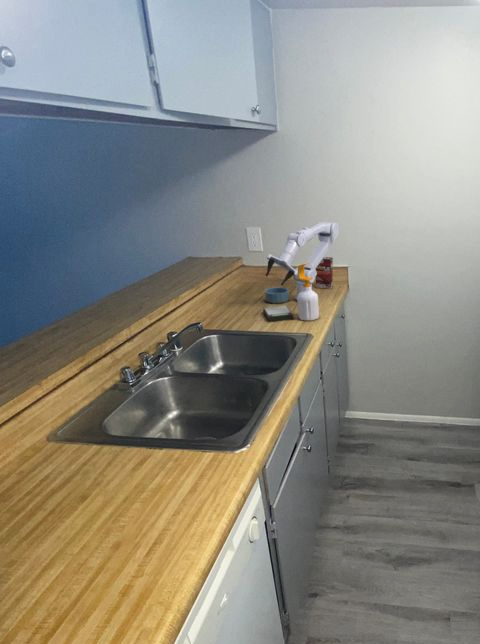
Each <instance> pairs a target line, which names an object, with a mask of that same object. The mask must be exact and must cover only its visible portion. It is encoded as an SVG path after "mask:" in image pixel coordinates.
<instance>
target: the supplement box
mask: <svg viewBox="0 0 480 644" xmlns="http://www.w3.org/2000/svg"><path fill="white" fill-rule="evenodd" d="M333 262H334V257H328V256H324V257H323V259H322V260H321V262H320V263H319V264H318V266H317V267H316V272H317V275H316V276H315V288H316V289H317V288H319V289H329V290H330V289H332V288H333V287H334V285H333V284H334V279H333V274H334V273H333V272H334V269H333V267H334V266H333V265H334V263H333Z"/></svg>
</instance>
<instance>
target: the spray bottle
mask: <svg viewBox="0 0 480 644" xmlns="http://www.w3.org/2000/svg"><path fill="white" fill-rule="evenodd" d="M305 263H306V262H305ZM310 263H311V262H310ZM310 263H306V264H304V263H301V264H300V265H298V266H297V268H298V277H299V279H300V280H304V282H305V284H304V285H303V291H302V292H300V293H299V294H298V296H297V295H296V297H297V300H296V301H297V312H298V313H297V314H298V319H299V320H301V321H305V322H310V321H316V320H317V319H319V317H320V311H319V295H318V294H317V292H315V291H314V290H313V289H312V290H311V285H310V284H309V282H310V280H312V279H313V278H309V277H305V273H304V266H305V265H307V264H310Z"/></svg>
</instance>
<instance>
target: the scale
mask: <svg viewBox="0 0 480 644" xmlns="http://www.w3.org/2000/svg"><path fill="white" fill-rule="evenodd" d="M262 310H263V311H262V313H263V315H264V317H265V319H266V320H267V322H269V323H272V322H273V323H274V322H280V321H288V320H289V321H290V320H294V314H293V312H292V311H291V309H289V307H288V306H287V305H282V306H281V305H280V306H273V307H271V306H270V307H263V308H262Z"/></svg>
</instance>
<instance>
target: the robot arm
mask: <svg viewBox="0 0 480 644" xmlns="http://www.w3.org/2000/svg"><path fill="white" fill-rule="evenodd" d="M339 227H340V226H339V224H338V223H337V222H329V221H322V220H321V221H318V222H317V223H316V224H315V225H313V226H312V227H310V228H309V227H306V226H305V227H303V228H302V229H301V230H297V231H296V232H292V233H290V234H288V235H287V237H286V243H285V246H284V248H283V250H282V252H281V254H280V255H279V257H278V256H274V255H272V254H271V253H269V254H268V255H267V258H266V259H267V260H268V261H267V270H266V274H265V277H268V276H269V274H270V272H271V270H272V268H273V266H274V265H277V266H279V267H280V268H282V269H283V270H285V271H286V272H287V273H286V275H285V276H284V278H283V280H282V282H281V283H280V286H283V285H284V284H285V283H286V282H287V281H288V280H290V279H291V278H292V279H293V280H294V281H295V284H296V287H295V288H296V296H295V297H294V298H295V300H296V301H297V296H298V294H299V293H300V292H302V291H303V285H304V284H305V282H304V280H300V279H299V277H298V267H295V268H294V267H293V266H292V265H291V264H292V262H293V260H294V258H296V255H297V253H298V251H299V249H300V248H303V247H304V246H305V244H306V243H307V242H309V241H311V240H312V239H313V238H314V236H316V235H317V237H318V241H320V242H319V243H318V245H317V247H315V249H314V251H313V252H312V253H311V255H310V256H309V257H308V259H307V261H306V262H304V263H303V264H306V263H310V262H311V263H310V264H307V265H305V266H304V273H305V277H309V278H313V279H312V280H310V282H309V284H310V285H311V290H312V291H313V284H314V281H316V275H317V272H316V267H317V266H318V264H319V263H320V262H321V260H322V259H323V257H326V255H327V253H328V252H329V250H330V249H331V248H332V246H333V243H334V241H335V240H336V239H337V238H338V236H339V233H340V232H339V231H340V228H339Z"/></svg>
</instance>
